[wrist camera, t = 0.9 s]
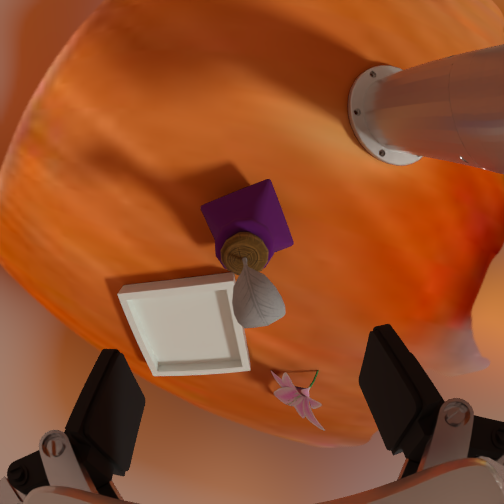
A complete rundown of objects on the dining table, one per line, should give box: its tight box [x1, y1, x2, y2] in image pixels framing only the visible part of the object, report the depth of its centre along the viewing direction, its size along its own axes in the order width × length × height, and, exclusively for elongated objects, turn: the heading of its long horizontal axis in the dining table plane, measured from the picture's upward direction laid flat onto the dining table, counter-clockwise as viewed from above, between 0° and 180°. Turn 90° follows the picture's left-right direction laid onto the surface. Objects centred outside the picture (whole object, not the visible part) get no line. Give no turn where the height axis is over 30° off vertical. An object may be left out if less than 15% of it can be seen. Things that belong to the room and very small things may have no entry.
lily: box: [271, 370, 325, 431], centre depth 38 cm, size 12×12×10 cm
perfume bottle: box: [201, 179, 294, 328], centre depth 23 cm, size 8×8×18 cm
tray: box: [117, 272, 251, 376], centre depth 35 cm, size 15×15×2 cm
